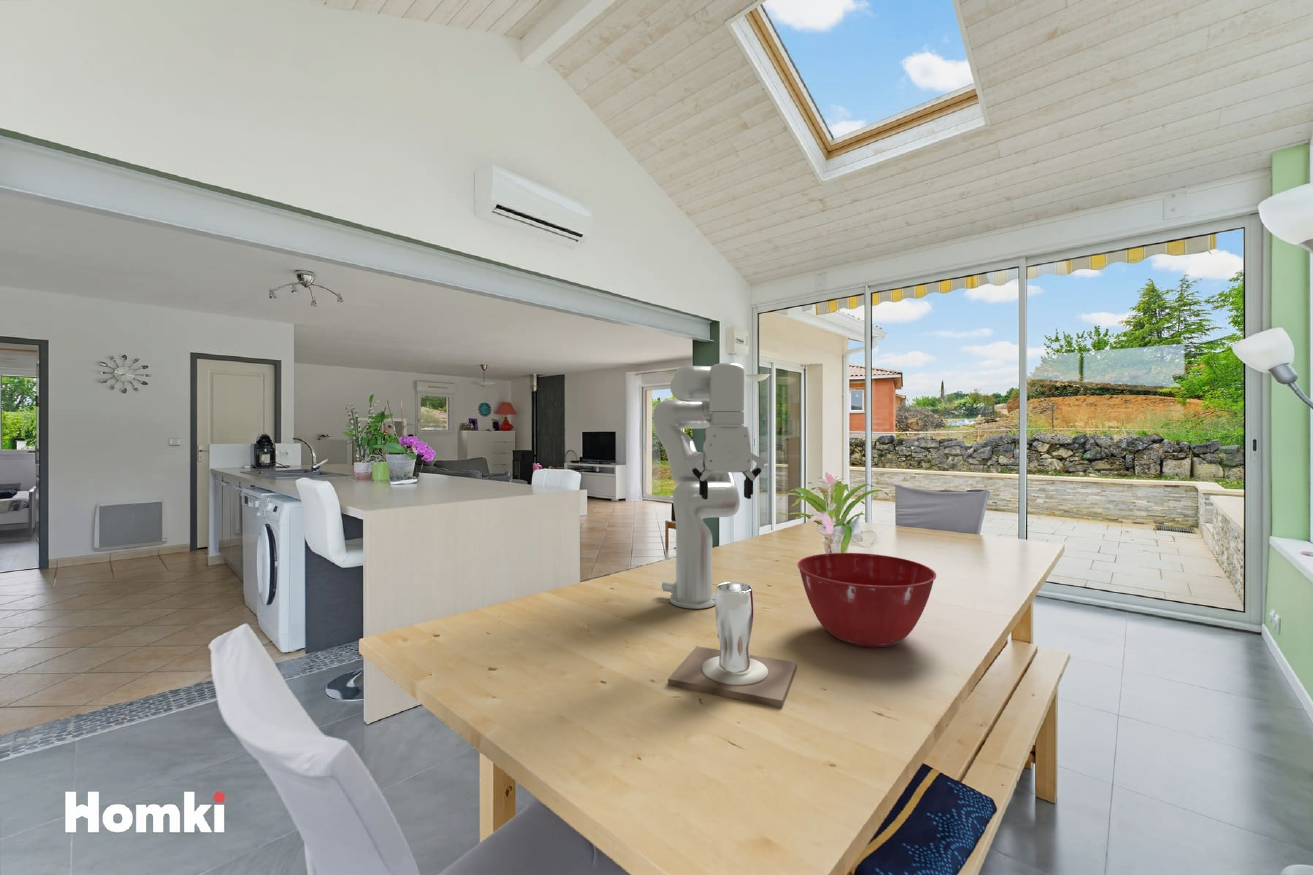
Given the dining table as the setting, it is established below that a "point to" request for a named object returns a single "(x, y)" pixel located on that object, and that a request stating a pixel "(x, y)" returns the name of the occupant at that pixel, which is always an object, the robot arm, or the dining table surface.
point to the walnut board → (735, 677)
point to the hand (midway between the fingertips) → (726, 498)
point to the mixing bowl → (866, 595)
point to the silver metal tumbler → (734, 626)
